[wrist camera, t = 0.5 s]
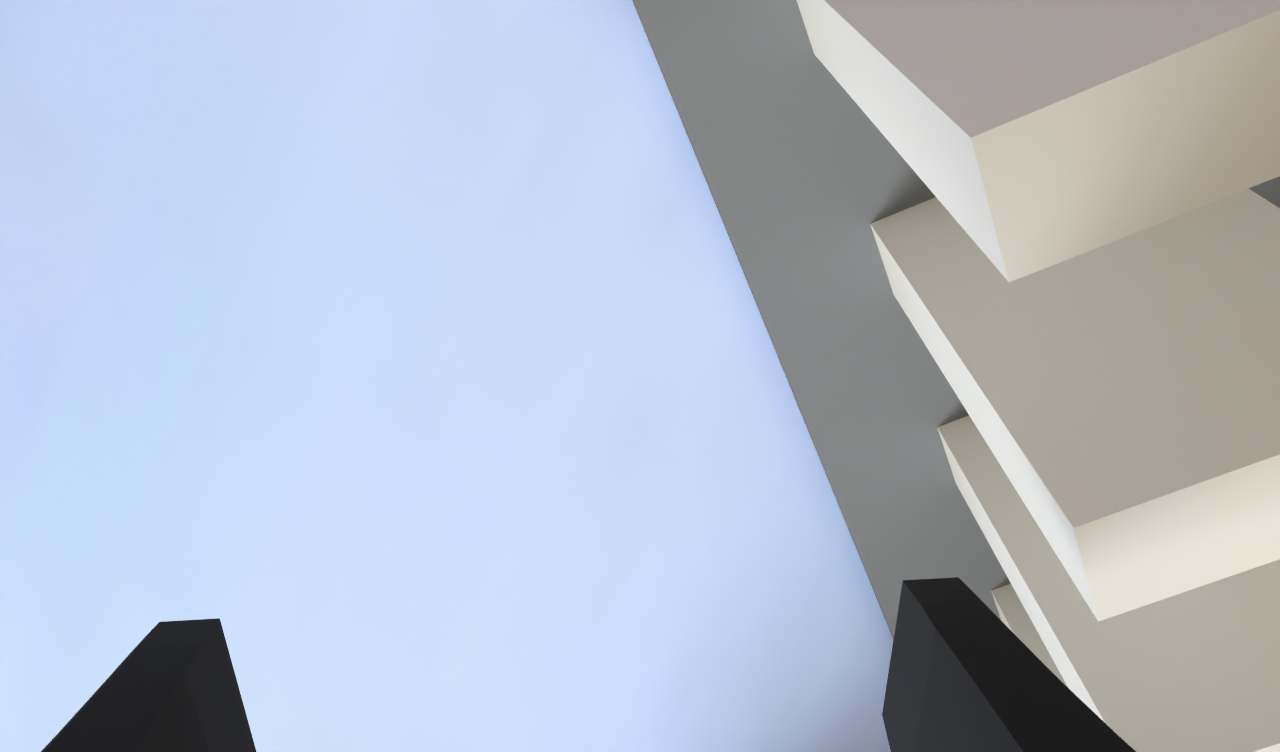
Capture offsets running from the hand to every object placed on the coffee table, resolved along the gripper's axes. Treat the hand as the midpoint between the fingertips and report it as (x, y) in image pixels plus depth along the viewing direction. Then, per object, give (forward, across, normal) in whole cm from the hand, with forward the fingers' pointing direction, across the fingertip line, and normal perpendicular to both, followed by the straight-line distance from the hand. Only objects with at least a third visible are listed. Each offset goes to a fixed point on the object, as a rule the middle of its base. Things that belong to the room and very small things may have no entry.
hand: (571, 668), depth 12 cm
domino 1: (+10, -6, -6) cm, 13 cm away
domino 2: (+10, -8, -1) cm, 13 cm away
